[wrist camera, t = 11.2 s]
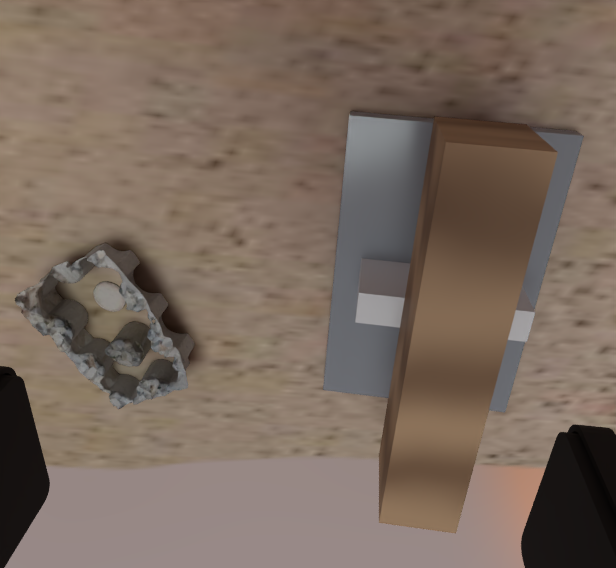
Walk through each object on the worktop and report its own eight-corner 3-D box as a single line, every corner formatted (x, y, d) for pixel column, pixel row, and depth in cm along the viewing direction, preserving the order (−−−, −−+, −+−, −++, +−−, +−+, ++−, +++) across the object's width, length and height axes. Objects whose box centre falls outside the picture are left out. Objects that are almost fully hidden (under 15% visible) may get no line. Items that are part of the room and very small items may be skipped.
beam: (434, 116, 25) (445, 142, 21) (526, 124, 25) (558, 152, 20) (379, 454, 34) (379, 522, 30) (445, 463, 34) (455, 533, 30)
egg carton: (39, 266, 38) (3, 294, 34) (132, 227, 36) (103, 253, 32) (122, 388, 42) (98, 425, 38) (210, 360, 40) (193, 397, 36)
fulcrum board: (350, 111, 31) (344, 133, 26) (576, 131, 30) (615, 157, 25) (324, 379, 39) (316, 434, 34) (501, 400, 38) (519, 460, 33)
